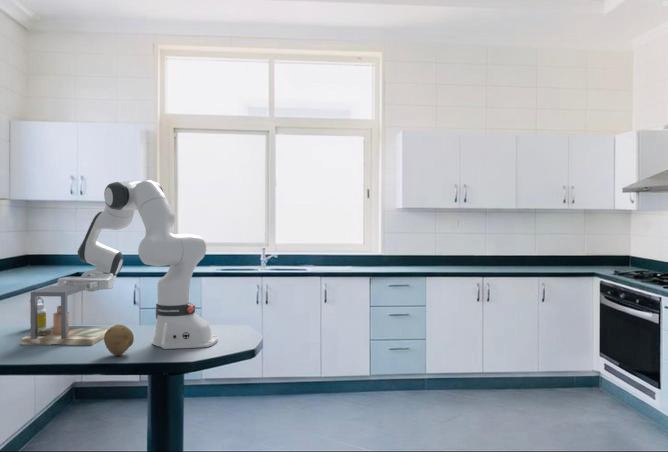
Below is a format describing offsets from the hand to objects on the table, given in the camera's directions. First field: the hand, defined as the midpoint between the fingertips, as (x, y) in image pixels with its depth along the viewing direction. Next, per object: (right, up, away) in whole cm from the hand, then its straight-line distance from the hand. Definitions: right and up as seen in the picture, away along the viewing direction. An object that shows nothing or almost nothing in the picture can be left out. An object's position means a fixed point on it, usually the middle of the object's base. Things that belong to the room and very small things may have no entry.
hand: (76, 285), depth 200 cm
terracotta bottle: (0, -16, -12) cm, 20 cm away
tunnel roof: (0, -16, -12) cm, 20 cm away
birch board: (+3, -18, -12) cm, 22 cm away
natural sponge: (+30, -19, -31) cm, 47 cm away
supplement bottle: (-17, -18, +4) cm, 25 cm away
